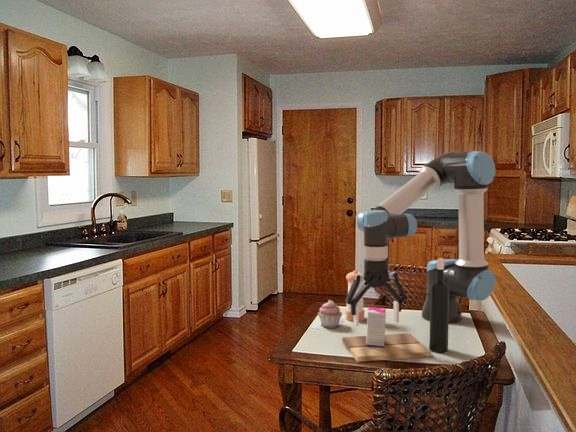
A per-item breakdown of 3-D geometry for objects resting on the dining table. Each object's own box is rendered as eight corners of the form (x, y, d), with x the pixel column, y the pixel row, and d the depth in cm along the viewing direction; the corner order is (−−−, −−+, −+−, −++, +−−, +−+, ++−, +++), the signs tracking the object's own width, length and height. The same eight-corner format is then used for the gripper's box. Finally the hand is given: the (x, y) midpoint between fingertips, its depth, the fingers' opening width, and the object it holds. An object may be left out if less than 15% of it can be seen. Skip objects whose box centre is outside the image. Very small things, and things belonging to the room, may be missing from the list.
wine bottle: (451, 352, 165) (453, 259, 163) (435, 353, 164) (437, 260, 161) (441, 346, 171) (443, 256, 168) (425, 348, 169) (427, 257, 167)
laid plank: (420, 347, 169) (420, 343, 169) (431, 356, 161) (431, 351, 161) (349, 352, 165) (349, 347, 165) (357, 361, 157) (357, 356, 157)
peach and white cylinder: (367, 317, 204) (367, 270, 202) (359, 322, 198) (359, 273, 196) (350, 315, 208) (350, 268, 206) (342, 319, 202) (342, 271, 200)
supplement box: (384, 347, 165) (385, 313, 163) (366, 346, 166) (366, 312, 164) (384, 340, 170) (385, 307, 169) (366, 339, 171) (367, 306, 170)
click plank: (349, 351, 166) (349, 346, 166) (342, 341, 174) (342, 337, 173) (419, 346, 170) (419, 342, 170) (409, 337, 178) (409, 333, 177)
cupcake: (320, 321, 200) (320, 295, 199) (344, 323, 197) (344, 297, 196) (314, 328, 191) (314, 301, 190) (339, 330, 188) (339, 303, 187)
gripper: (407, 254, 171) (407, 316, 173) (335, 258, 167) (336, 322, 169) (417, 258, 164) (417, 323, 166) (341, 262, 160) (342, 329, 162)
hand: (376, 323), depth 168 cm, fingers open, 13 cm apart
